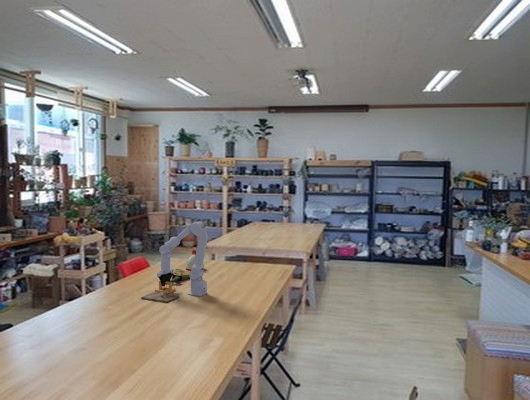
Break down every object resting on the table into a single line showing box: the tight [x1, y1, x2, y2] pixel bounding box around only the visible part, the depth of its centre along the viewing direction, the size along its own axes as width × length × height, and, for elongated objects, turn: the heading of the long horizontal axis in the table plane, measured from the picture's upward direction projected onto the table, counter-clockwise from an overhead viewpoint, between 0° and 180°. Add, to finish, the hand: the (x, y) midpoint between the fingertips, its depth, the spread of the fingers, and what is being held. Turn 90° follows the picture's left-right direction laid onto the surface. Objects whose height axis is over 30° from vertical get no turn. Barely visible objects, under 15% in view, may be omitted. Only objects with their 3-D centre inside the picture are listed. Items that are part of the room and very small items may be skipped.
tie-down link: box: [154, 280, 177, 294], centre depth 250 cm, size 9×9×6 cm
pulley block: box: [170, 268, 191, 284], centre depth 280 cm, size 14×6×30 cm
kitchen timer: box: [185, 249, 205, 272], centre depth 313 cm, size 14×14×15 cm
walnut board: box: [140, 291, 180, 304], centre depth 236 cm, size 18×12×1 cm, turn 68°
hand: (165, 285), depth 250 cm, fingers open, 4 cm apart
